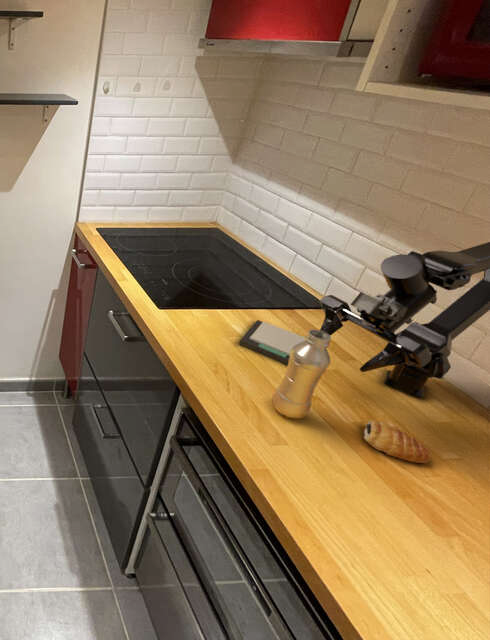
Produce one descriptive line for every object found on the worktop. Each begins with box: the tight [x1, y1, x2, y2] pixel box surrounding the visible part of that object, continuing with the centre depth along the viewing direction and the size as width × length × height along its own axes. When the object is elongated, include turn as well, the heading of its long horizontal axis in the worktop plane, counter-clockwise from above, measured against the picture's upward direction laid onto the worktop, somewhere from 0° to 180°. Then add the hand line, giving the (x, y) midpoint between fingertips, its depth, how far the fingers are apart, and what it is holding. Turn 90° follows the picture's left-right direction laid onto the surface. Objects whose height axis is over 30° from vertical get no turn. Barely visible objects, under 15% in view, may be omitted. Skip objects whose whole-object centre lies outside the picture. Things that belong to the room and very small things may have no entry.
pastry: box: [363, 419, 431, 464], centre depth 86 cm, size 9×7×4 cm
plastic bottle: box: [271, 328, 332, 419], centre depth 91 cm, size 6×7×20 cm
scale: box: [238, 319, 306, 366], centre depth 116 cm, size 14×14×2 cm
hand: (337, 355), depth 92 cm, fingers open, 9 cm apart
